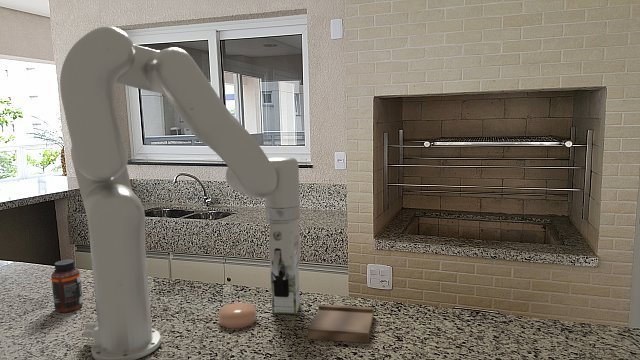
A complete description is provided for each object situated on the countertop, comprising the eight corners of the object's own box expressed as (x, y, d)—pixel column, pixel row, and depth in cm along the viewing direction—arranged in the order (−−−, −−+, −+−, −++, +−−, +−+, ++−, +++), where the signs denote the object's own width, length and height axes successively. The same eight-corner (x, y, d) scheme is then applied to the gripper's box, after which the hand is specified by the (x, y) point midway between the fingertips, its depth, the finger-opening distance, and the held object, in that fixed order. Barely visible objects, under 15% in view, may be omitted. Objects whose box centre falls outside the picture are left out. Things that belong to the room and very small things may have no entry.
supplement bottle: (89, 304, 115) (84, 259, 113) (67, 315, 110) (62, 267, 108) (70, 301, 117) (65, 256, 116) (48, 311, 112) (43, 264, 110)
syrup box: (300, 304, 113) (298, 244, 111) (296, 315, 107) (294, 251, 105) (276, 303, 113) (274, 244, 111) (271, 314, 107) (269, 251, 105)
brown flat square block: (307, 338, 96) (307, 328, 96) (319, 313, 107) (319, 304, 107) (368, 343, 93) (367, 333, 93) (373, 316, 105) (373, 307, 105)
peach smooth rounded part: (212, 327, 102) (212, 316, 102) (228, 311, 110) (228, 301, 110) (248, 330, 100) (247, 319, 100) (261, 314, 108) (261, 304, 108)
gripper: (289, 222, 98) (292, 307, 100) (308, 205, 114) (310, 278, 117) (253, 221, 99) (257, 305, 102) (277, 204, 116) (280, 276, 119)
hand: (285, 289), depth 109 cm, fingers closed on syrup box, 6 cm apart
